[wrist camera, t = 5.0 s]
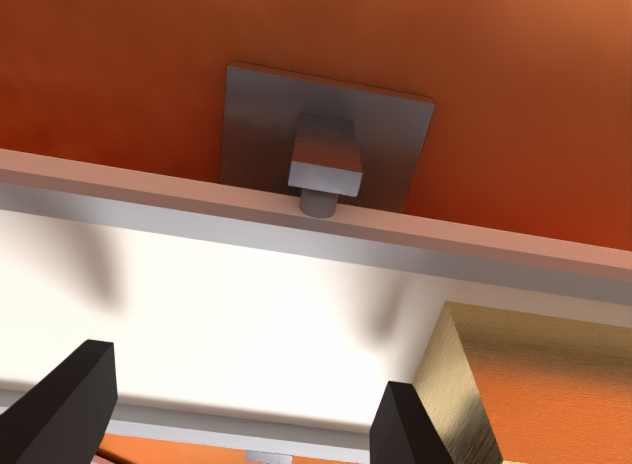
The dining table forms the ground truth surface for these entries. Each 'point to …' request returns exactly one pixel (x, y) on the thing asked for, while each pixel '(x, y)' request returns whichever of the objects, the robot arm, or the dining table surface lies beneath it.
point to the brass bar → (527, 387)
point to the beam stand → (319, 143)
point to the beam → (255, 299)
